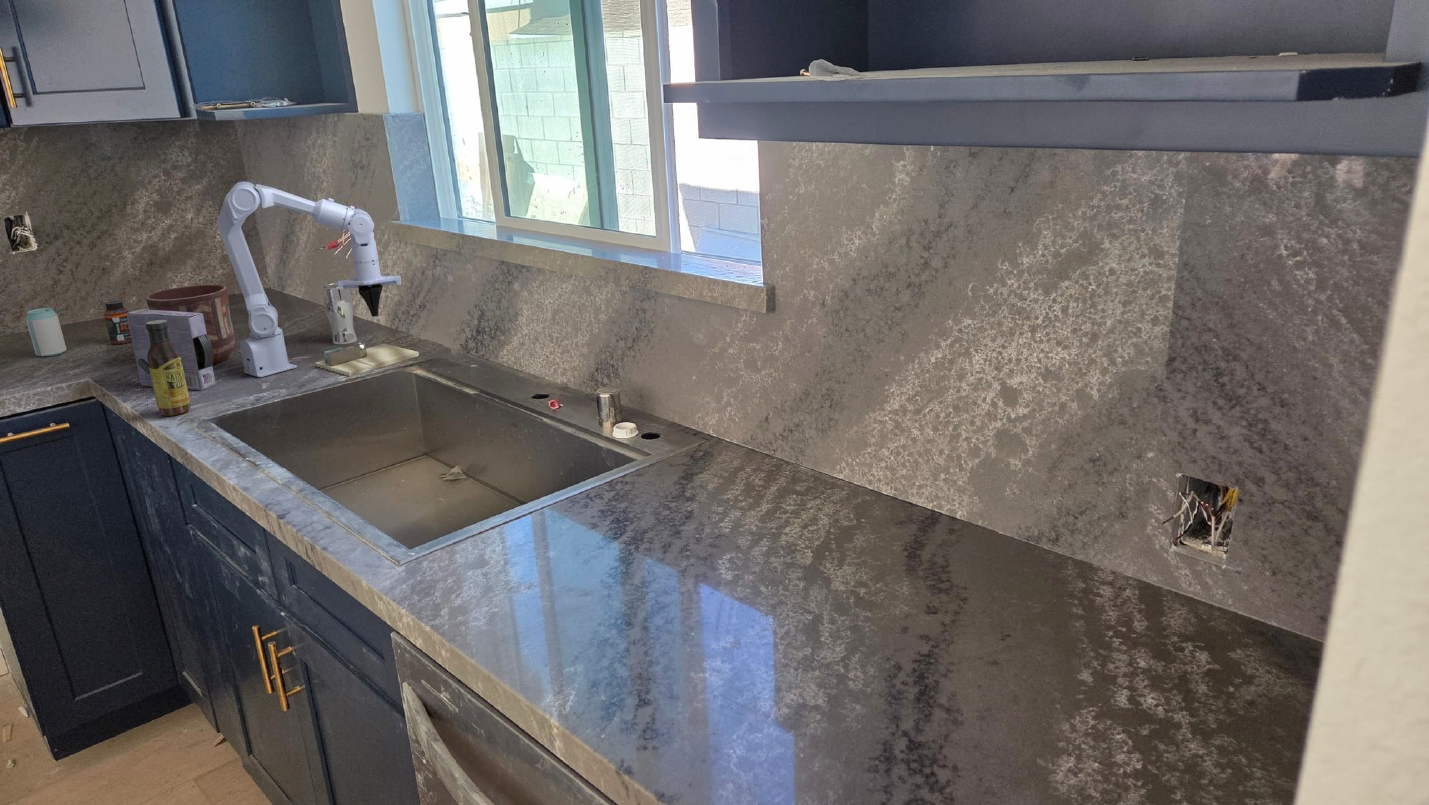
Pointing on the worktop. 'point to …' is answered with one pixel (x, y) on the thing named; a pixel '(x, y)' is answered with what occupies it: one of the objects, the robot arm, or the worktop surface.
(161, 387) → the sauce bottle
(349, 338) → the beer glass
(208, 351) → the cake pan box
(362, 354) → the swing bar
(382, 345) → the board
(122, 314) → the supplement bottle
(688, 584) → the worktop surface
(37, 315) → the can
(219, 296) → the pottery
